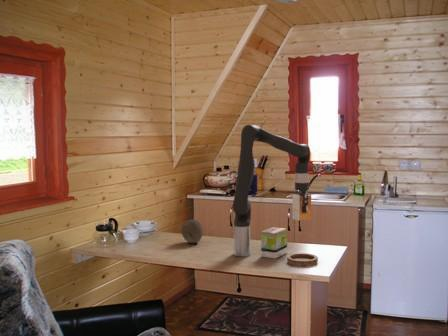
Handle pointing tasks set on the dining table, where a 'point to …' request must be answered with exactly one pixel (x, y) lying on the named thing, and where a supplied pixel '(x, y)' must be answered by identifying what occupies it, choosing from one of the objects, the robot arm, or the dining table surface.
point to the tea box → (273, 242)
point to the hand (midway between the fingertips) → (301, 211)
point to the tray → (302, 259)
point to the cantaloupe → (192, 231)
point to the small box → (300, 208)
